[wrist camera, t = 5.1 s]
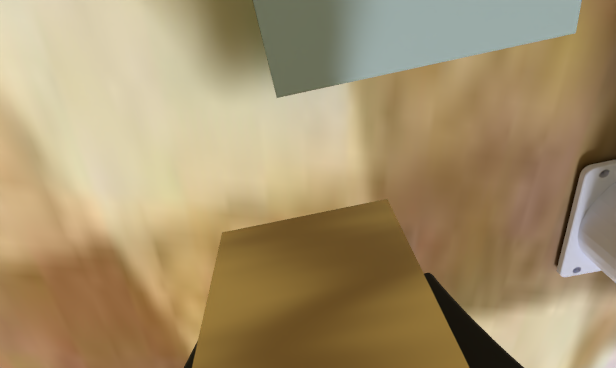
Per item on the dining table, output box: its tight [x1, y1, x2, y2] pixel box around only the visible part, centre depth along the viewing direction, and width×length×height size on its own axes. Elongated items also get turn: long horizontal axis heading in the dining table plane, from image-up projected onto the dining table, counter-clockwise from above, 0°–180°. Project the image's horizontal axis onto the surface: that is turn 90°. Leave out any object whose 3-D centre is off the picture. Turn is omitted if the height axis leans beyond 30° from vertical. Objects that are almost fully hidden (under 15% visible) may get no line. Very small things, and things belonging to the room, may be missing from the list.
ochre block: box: [192, 199, 469, 368], centre depth 9 cm, size 5×5×6 cm
